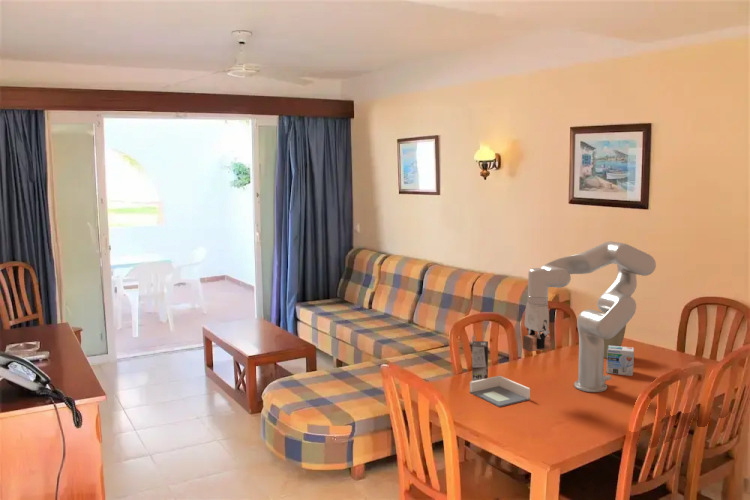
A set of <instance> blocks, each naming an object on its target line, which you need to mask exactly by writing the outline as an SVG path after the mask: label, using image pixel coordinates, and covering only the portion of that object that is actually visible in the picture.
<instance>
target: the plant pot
mask: <svg viewBox="0 0 750 500" xmlns="http://www.w3.org/2000/svg"><path fill="white" fill-rule="evenodd" d="M626 328H627V324H626V325H625V326H624V327H623V328H622V329H621V330H620V331H619V333H618V334H617V335H615V336H614V337H613V338H611V339H603V340H604V359H607V352H608V346H609V345H610V346H621V347H622V345H623V342H624V338H625V333H626Z"/></svg>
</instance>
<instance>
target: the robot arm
mask: <svg viewBox="0 0 750 500" xmlns="http://www.w3.org/2000/svg"><path fill="white" fill-rule="evenodd" d="M656 263H657V262H656V260H655V258H654V256H652V255H650V254H649V253H647V252H645V251H642V250H641V249H638V248H636V247H634V246H632V245H630V244H627V243H623V242H618V241H606V242H603V243H601V244H599V245H596V246H595V247H592V248H589V249H588V250H586V251H584V252H581V253H576V254H572V255H568V256H563V257H560V258H557V259H554V260H552V261H550V262H547V263H545V264H544V265H542V266H541V267H532V268H530V269H529V270H528V274H527V275H528V281H527V283H528V285H527V302H526V305H525V311H524V321H523V322H524V324H523V325H524V327H525V328H526V330H527V334H528V335H536V333H537V334H538V339H537V349H544V347H545V338H546V336H547V335H548V336H549V334H550V329H549V328H550V312H549V306H548V305H549V288H559V289H560V288H565V287H567V286H568V285H569V284H570V282H571V280H572V279H571V277H572V276H571V275H587V274H591V273H593V272H596V271H598V270H600V269H602V268H604V267H607V266H609V265H613V264H614V265H616V267H617V275H616V278H615V279H614V281H613V282H612V283H611V284H610V286H608V288H606V290H605V291H604V292H603V293H602V294H601V295H600V296H599V298H598V300H597V303H596V305H597V306H596V307H597V308H598V310H599V311H598V310H595V309H593V308H591V309H590V308H589V309H584V310H582V311H581V312H580V313H579V314H578V315H577V321H576V323H577V324H576V325H577V331H578V374H577V375H578V376H577V380H576V381H574V384H573V387H575V389H577V390H579V391H583V392H588V393H601V392H604V391H607V389H608V384H606V381H610V380H612V376H611V374H608V375H607V374H606V375H604V366H605V365H604V362H605V358H604V340H603V339H611V338H613V337H614V336H615V335H617V334H618V333H619V331H620V330H621V329H622V328H623V327H624V326H625V325H626V326H627V324H628V323H629V322H630V320H632V318H633V317H634V315H635V314H636V311H637V303H636V300H635V299H634V298H633V297H632V295H633V294H634V293H635V291H636V289H637V285H638V284H637V275H638V276H642V277H646V276H649V275H652V274H653V273H654V272H655V270H656V267H657V264H656Z"/></svg>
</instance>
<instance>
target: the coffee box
mask: <svg viewBox="0 0 750 500" xmlns="http://www.w3.org/2000/svg"><path fill="white" fill-rule="evenodd" d="M471 346H472V347H471V348H472V349H471V353H472V354H471V361H472V362H471V363H472V364H471V368H472V369H471V371H472V372H471V374H472V376H471V379H472V380H471V381H476V380H481V379H485V378H489V341H487V340H486V341H485V340H484V341H482V340H477V341H476V340H473V341H472V345H471Z"/></svg>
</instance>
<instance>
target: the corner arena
mask: <svg viewBox="0 0 750 500" xmlns="http://www.w3.org/2000/svg"><path fill="white" fill-rule="evenodd" d="M469 393H470V394H471V395H474V396H475V397H477V398H480V399H482V400H483V401H486V402H488V403H490V404H492V405H494V406H496V407H498V408H501V407H502V408H503V407H505V406H509V405H514V404H517V403H522V402H525V401H530V400H531V388H530V387H528V386H525V385H523V384H521V383H518V382H516V381H514V380H511V379H509V378H507V377H505V376H502V375H499V374H498V375H495V376H491V377H488V378H485V379H481V380H476V381H472V380H471V381H469Z"/></svg>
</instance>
